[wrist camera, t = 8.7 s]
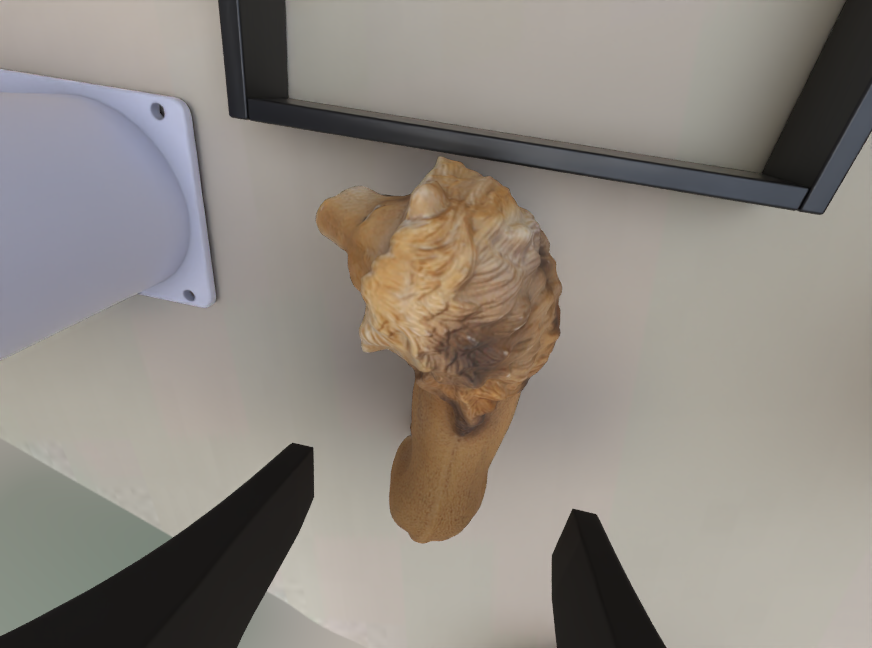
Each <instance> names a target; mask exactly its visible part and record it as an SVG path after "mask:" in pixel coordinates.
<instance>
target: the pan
mask: <svg viewBox="0 0 872 648" xmlns="http://www.w3.org/2000/svg"><path fill="white" fill-rule="evenodd" d="M218 3H219V13H220V23H221V34H222V44H223V55H224V65H225V75H226V86H227V96H228V106H229V115H230V116H231V117H232V118H238V119H244V120H251V121H256V122H262V123H268V124H274V125H280V126H286V127H292V128H298V129H304V130H310V131H316V132H323V133H329V134H335V135H341V136H347V137H353V138H359V139H365V140H371V141H377V142H383V143H389V144H395V145H401V146H407V147H413V148H419V149H425V150H431V151H437V152H443V153H449V154H455V155H461V156H467V157H473V158H479V159H485V160H491V161H497V162H504V163H510V164H516V165H522V166H528V167H534V168H540V169H546V170H552V171H558V172H564V173H570V174H576V175H582V176H588V177H594V178H600V179H606V180H612V181H618V182H624V183H630V184H636V185H642V186H648V187H654V188H660V189H666V190H672V191H679V192H685V193H691V194H697V195H703V196H709V197H715V198H721V199H727V200H733V201H739V202H745V203H751V204H757V205H763V206H769V207H775V208H781V209H787V210H793V211H795V210H797V211H800V212H805V213H811V214H817V215H821V214H823V213H824V212H825V210H826V209H827V207H828V205H829V203H830V202H831V200H832V198H833V197H834V195H835V193H836V191H837V190H838V188H839V186H840V185H841V183H842V181H843V179H844V178H845V176H846V174H847V173H848V171H849V169H850V167H851V166H852V164H853V162H854V161H855V159H856V157H857V155H858V154H859V152H860V150H861V149H862V147H863V145H864V143H865V142H866V140H867V138H868V137H869V135H870V133H871V131H872V0H847V1H846V3H845V5H844V8H843V10H842V12H841V14H840V16H839V18H838V20H837V22H836V24H835V26H834V28H833V30H832V32H831V34H830V36H829V38H828V40H827V42H826V44H825V46H824V48H823V50H822V52H821V55H820V57H819V59H818V61H817V63H816V65H815V67H814V69H813V71H812V73H811V75H810V77H809V79H808V81H807V83H806V85H805V87H804V89H803V91H802V93H801V95H800V97H799V99H798V101H797V104H796V106H795V108H794V110H793V112H792V114H791V116H790V118H789V120H788V122H787V124H786V126H785V128H784V130H783V132H782V134H781V136H780V138H779V140H778V142H777V144H776V146H775V148H774V151H773V153H772V155H771V157H770V159H769V161H768V163H767V165H766V167H765V169H764V171H763V173H762V174H760V173H755V172H748V171H742V170H736V169H729V168H723V167H717V166H711V165H704V164H698V163H692V162H685V161H679V160H673V159H666V158H660V157H654V156H648V155H641V154H635V153H629V152H622V151H616V150H610V149H604V148H597V147H591V146H585V145H578V144H572V143H566V142H560V141H553V140H547V139H541V138H534V137H528V136H522V135H516V134H509V133H503V132H497V131H490V130H484V129H478V128H472V127H465V126H459V125H453V124H446V123H440V122H434V121H428V120H421V119H415V118H409V117H402V116H396V115H390V114H383V113H377V112H371V111H365V110H358V109H352V108H346V107H339V106H333V105H327V104H321V103H314V102H308V101H302V100H295V99H288V79H287V50H286V21H285V0H218Z"/></svg>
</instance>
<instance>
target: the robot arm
mask: <svg viewBox="0 0 872 648" xmlns="http://www.w3.org/2000/svg"><path fill="white" fill-rule="evenodd" d="M160 105H161V106H162V107H163V109H164V112H165V117H163V116H162V115H161V113H160V111H159V106H160ZM190 291H192V293H193V294H194V296H195V297H194V296H193V295H192V294H191V292H190ZM136 294H140V295H145V296H149V297H154V298H159V299H163V300H168V301H173V302H177V303H182V304H187V305H192V306H196V307H201V308H207V307H209V306H211V305H213V304H214V303H215V301H216V291H215V284H214V277H213V269H212V262H211V255H210V247H209V240H208V232H207V225H206V218H205V210H204V203H203V196H202V188H201V181H200V174H199V166H198V159H197V151H196V144H195V137H194V129H193V122H192V115H191V112H190V109H189V107H188V106H187V104H186V103H185V102H184V101H183V100H182V99H179V98H177V97H172V96H166V95H159V94H153V93H147V92H141V91H135V90H129V89H123V88H117V87H110V86H104V85H98V84H92V83H86V82H80V81H74V80H67V79H61V78H55V77H49V76H43V75H37V74H31V73H25V72H18V71H12V70H6V69H0V361H1V360H3V359H5V358H7V357H9V356H11V355H13V354H15V353H17V352H19V351H21V350H23V349H25V348H27V347H29V346H31V345H33V344H35V343H37V342H40V341H42V340H44V339H46V338H48V337H50V336H52V335H54V334H56V333H58V332H60V331H62V330H64V329H66V328H68V327H70V326H72V325H74V324H76V323H78V322H80V321H82V320H84V319H87V318H89V317H91V316H93V315H95V314H97V313H99V312H101V311H103V310H105V309H107V308H109V307H111V306H113V305H115V304H117V303H119V302H121V301H123V300H125V299H127V298H129V297H131V296H134V295H136ZM313 498H314V457H313V447H309V446H304V445H300V444H296V443H292V444H290V445H288V446H287V447H286V448H285V449H284V450H283V451H282V452H281V453H279V454H278V455H277V456H276V457H275V458H274V459H273V460H271V461H270V462H269V463H268V464H267V465H266V466H265V467H263V468H262V469H261V470H260V471H259V472H258V473H256V474H255V475H254V476H253V477H252V478H250V479H249V480H248V481H247V482H246V483H244V484H243V485H242V486H241V487H239V488H238V489H237V490H236V491H235V492H233V493H232V494H231V495H230V496H228V497H227V498H226V499H225V500H223V501H222V502H221V503H220V504H218V505H217V506H216V507H214V508H213V509H212V510H210V511H209V512H208V513H206V514H205V515H204V516H202V517H201V518H200V519H198V520H197V521H195V522H194V523H193V524H191V525H190V526H189V527H187V528H186V529H185V530H183V531H182V532H180V533H179V534H177V535H176V536H175V537H173V538H172V539H170V540H169V541H167V542H166V543H164V544H163V545H161V546H160V547H158V548H157V549H155V550H154V551H152V552H151V553H149V554H148V555H146V556H145V557H143V558H142V559H140V560H138V561H137V562H135V563H133V564H132V565H130V566H128V567H127V568H125V569H123V570H122V571H120V572H118V573H117V574H115V575H114V576H112V577H110V578H109V579H107V580H105V581H104V582H102V583H100V584H99V585H97V586H95V587H93V588H91V589H90V590H88V591H86V592H84V593H82V594H81V595H79V596H77V597H75V598H73V599H71V600H69V601H68V602H66V603H64V604H62V605H60V606H58V607H56V608H54V609H53V610H51V611H49V612H47V613H45V614H43V615H42V616H40V617H38V618H36V619H34V620H32V621H30V622H29V623H26V624H24V625H22V626H20V627H18V628H16V629H14V630H12V631H10V632H8V633H6V634H4V635H2V636H0V648H237V646H238V644H239V642H240V640H241V637H242V635H243V634H244V632H245V630H246V628H247V626H248V624H249V622H250V620H251V618H252V616H253V614H254V612H255V610H256V609H257V607H258V605H259V603H260V602H261V600H262V598H263V596H264V595H265V593H266V591H267V589H268V587H269V586H270V584H271V582H272V580H273V579H274V577H275V575H276V573H277V571H278V570H279V568H280V566H281V564H282V562H283V561H284V559H285V557H286V555H287V553H288V552H289V550H290V548H291V546H292V544H293V543H294V541H295V539H296V537H297V535H298V533H299V531H300V529H301V527H302V524H303V522H304V520H305V517H306V515H307V513H308V510H309V508H310V505H311V503H312V500H313ZM552 604H553V614H554V624H555V634H556V643H557V648H666V646H665V645H664V643H663V641H662V639H661V638H660V636H659V634H658V633H657V631H656V629H655V627H654V626H653V624H652V622H651V620H650V618H649V617H648V615H647V613H646V611H645V609H644V607H643V606H642V604H641V602H640V600H639V598H638V596H637V594H636V593H635V591H634V589H633V587H632V585H631V583H630V581H629V579H628V577H627V575H626V574H625V572H624V570H623V568H622V566H621V564H620V562H619V560H618V558H617V555H616V553H615V551H614V549H613V547H612V545H611V543H610V541H609V539H608V537H607V535H606V533H605V530H604V528H603V526H602V524H601V522H600V520H599V518H598V516H597V515H596V514H593V513H589V512H584V511H580V510H576V509H572V511H571V514H570V516H569V518H568V520H567V523H566V525H565V527H564V529H563V532H562V534H561V536H560V538H559V541H558V543H557V545H556V547H555V550H554V552H553V554H552Z"/></svg>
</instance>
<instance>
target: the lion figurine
mask: <svg viewBox="0 0 872 648" xmlns="http://www.w3.org/2000/svg"><path fill="white" fill-rule="evenodd" d="M316 223H317V226H318V228H319V231H320V232H321V234H322V235H324V236H325V237H327V238H328V239H330V240H331V241H332V242H334V243H335V244H336V245H337V246H339V247H340V248H341V249H343V250H345V251H346V252H347V253H348V269H349V272H350V278H351V281H352V283H353V285H354V286H355V287H356V288H357V289H358V290H359V291H360V292H361V295H362V297H363V299H364V301H365V302H366V309H365V315H364V318H363V321H362V324H361V326H360V328H359V335H360V338H361V340H362V341H361V346H362V350H363V352H370V353H371V352H376V351H380V350H384V349H389V350H390V351H392V352H394V353H396V354H397V355H398V356H399V357H401V358H402V359H404V360H406V361H407V363H408V365H409V366H411V367H412V368H413V369H414V371H415V383H414V388H413V396H412V423H411V426H410V429H411V436H408V437H406V438H405V439H404V441H403V442H402V443H401V444H400V446H399V448H398V450H397V453H396V455H395V458H394V461H393V465H392V470H391V482H390V494H389V503H390V512H391V515H392V518H393V519H394V521H395V522H396V523H397V525H398V526H400V527H401V528H403V529H404V530H406V531H407V532H408V533H409V535H410V537H411V539H413V540H414V541H415V542H418V543H427V542H430V541H443V540H446V539H449V538H451V537H453V536H455V535H457V534H459V533H460V532H461V531H462V530H463V529H464V528H465V527H466V526H467V525H468V524H469V522H470V521H471V519H472V517H473V516H474V515H475V514H476V512H477V511H478V509H479V507H480V505H481V503H482V500H483V497H484V493H485V489H486V484H487V473H488V468H489V466H490V464H491V462H492V460H493V458H494V456H495V454H496V452H497V450H498V448H499V446H500V444H501V442H502V440H503V438H504V436H505V434H506V432H507V430H508V428H509V425H510V423H511V421H512V418H513V416H514V413H515V410H516V407H517V403H518V400H519V397H520V393H521V391H522V390H523V388H524V387H525V386H526V384H527V382H528V380H529V379H530V377H531V376H533V375H534V374H536V373H537V372H538V371H539V370H540V369H541V368H542V367H543V365H544V364H545V363H546V362H547V360H548V357H549V354H550V353H551V352H552V350H553V348H554V345H555V342H556V340H557V339H558V338H559V336H560V329H559V326H560V308H559V305H558V302H559V296H560V295H561V293H562V285H561V282H560V280H559V279H558V276H557V272H556V262H555V260H554V259H553V258H552V257H551V255H550V254H549V250H550V249H549V248H550V243H549V241H548V239H547V237H546V235H545V234H544V232H543V231H542V230H540V226H539V224H538V223H537V222H536V221H535V219H534V216H533V215H532V214H531V213H530V212H529V211H527V210H526V209H523V208H521V207H519V206H518V205H517V204H516V201H515V200H514V198H513V197H512V196H511V194H510V190H509V189H508V188H506V187H504V186H502V185H501V184H500V183H499V182H498V181H497V180H495V179H493V178H492V177H491V176H486V177H483V176H482V175H481V174H479V173H478V172H476V171H473V170H470V169H467V168H466V167H465V166H464V164H463V163H461V162H459V161H453V160H449V159H447V158H445V157H438V159H437V162H436V165H435V167H434V168H433V169H432V170H431V171H430V172H429V173H428V174H427V175H426V176H425V178H424V179H423V180H422V181H421V183H420V184H419V185H418V186H417V187H416V188H415V189H414V190H413V192H412V194H409V195H406V196H390V195H380V194H378V193H376V192H375V191H373V190H371V189H369V188H366V187H363V186H354V187H351V188H349V189H346V190H344V191H342V192H341V193H340V194H338V195H337V196H334V197H330V198H328V199H326V200H325V201H324V202H323V203H322V204H321V206H320V207H319V209H318V211H317V213H316Z"/></svg>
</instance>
